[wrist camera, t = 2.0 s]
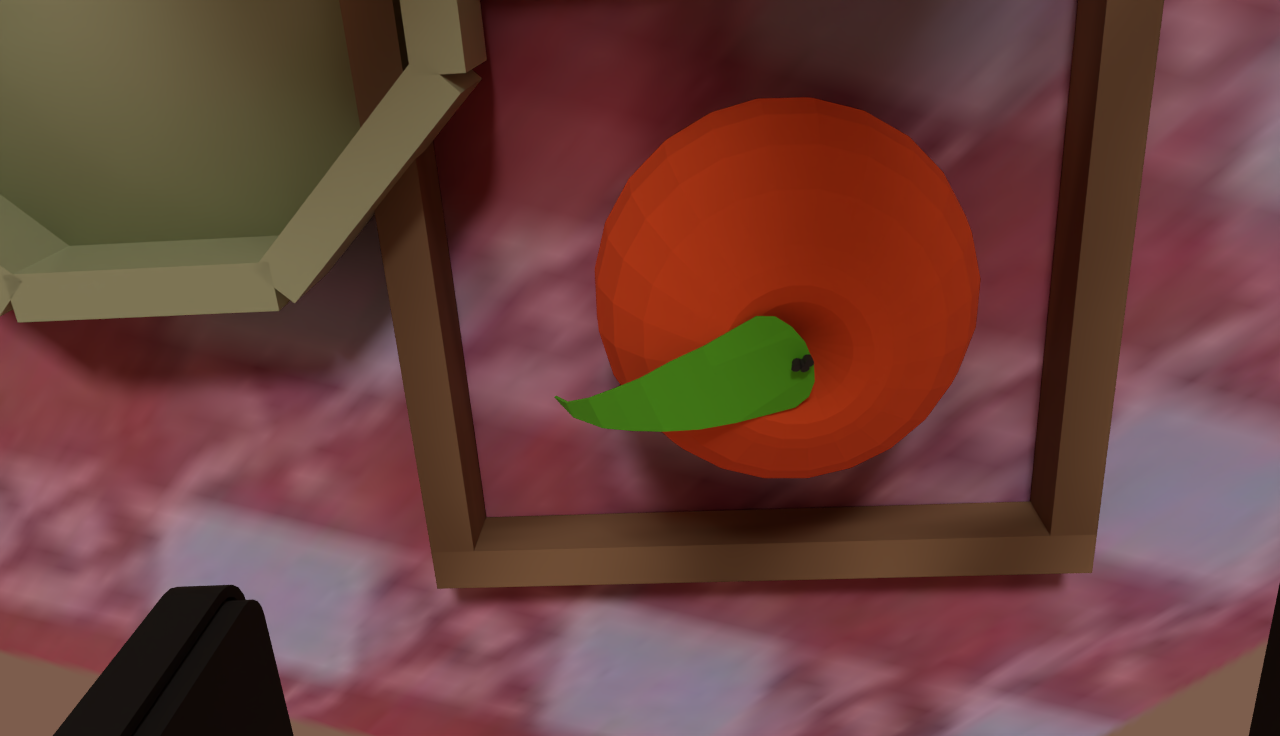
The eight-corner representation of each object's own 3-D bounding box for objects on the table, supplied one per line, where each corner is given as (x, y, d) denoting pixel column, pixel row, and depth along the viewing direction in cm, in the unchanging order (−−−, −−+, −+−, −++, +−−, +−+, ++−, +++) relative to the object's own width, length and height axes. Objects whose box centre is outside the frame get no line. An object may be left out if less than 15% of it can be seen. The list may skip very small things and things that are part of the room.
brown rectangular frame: (1150, -169, 19) (1186, -177, 17) (1069, 536, 25) (1092, 572, 23) (346, -109, 20) (320, -112, 18) (451, 553, 26) (437, 588, 24)
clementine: (643, 443, 24) (624, 633, 18) (509, 175, 22) (430, 278, 15) (975, 317, 23) (1090, 474, 16) (869, 13, 20) (952, 51, 14)
